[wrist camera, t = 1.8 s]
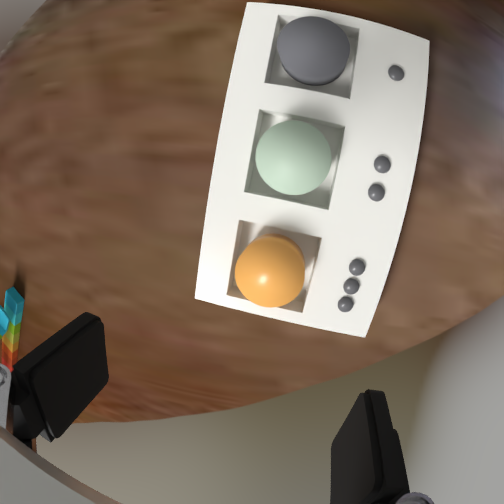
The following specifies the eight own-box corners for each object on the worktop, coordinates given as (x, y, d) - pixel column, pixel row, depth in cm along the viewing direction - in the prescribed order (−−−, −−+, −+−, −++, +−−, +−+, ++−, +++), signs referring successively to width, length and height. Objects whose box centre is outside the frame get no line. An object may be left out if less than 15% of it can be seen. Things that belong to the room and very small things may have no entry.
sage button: (267, 120, 20) (262, 114, 18) (334, 133, 20) (337, 129, 17) (255, 184, 22) (249, 186, 19) (321, 198, 21) (323, 202, 19)
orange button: (247, 227, 23) (240, 234, 20) (311, 241, 22) (312, 250, 20) (237, 286, 24) (229, 298, 22) (297, 300, 23) (295, 314, 21)
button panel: (254, 18, 20) (246, 1, 17) (417, 52, 18) (430, 40, 15) (206, 284, 27) (194, 299, 24) (360, 319, 25) (365, 338, 22)
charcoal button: (285, 25, 18) (283, 11, 15) (349, 37, 17) (353, 24, 15) (275, 79, 19) (271, 69, 17) (341, 92, 19) (345, 83, 16)
